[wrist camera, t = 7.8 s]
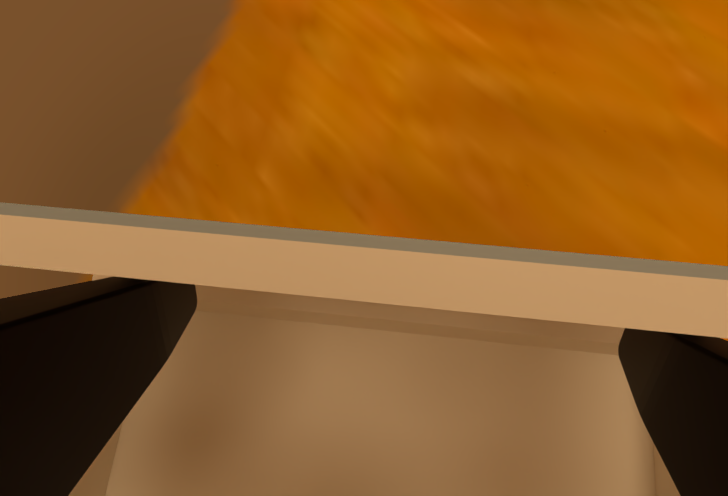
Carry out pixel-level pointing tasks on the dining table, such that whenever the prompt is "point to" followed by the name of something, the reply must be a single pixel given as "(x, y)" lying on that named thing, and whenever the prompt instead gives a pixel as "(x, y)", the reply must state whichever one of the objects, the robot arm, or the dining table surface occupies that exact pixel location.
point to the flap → (372, 268)
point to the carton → (380, 406)
